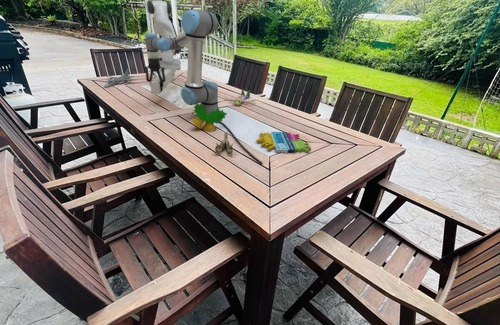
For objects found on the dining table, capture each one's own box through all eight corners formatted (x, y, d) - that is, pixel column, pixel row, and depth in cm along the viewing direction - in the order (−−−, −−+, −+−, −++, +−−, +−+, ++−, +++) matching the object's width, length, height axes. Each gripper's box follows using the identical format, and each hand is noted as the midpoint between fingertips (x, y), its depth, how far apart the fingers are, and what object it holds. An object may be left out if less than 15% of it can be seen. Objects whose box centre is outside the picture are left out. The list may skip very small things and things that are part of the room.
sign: (313, 150, 142) (258, 149, 139) (312, 153, 143) (258, 152, 140) (301, 132, 164) (254, 130, 161) (301, 134, 165) (254, 133, 162)
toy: (261, 91, 228) (254, 99, 202) (261, 99, 231) (253, 108, 205) (231, 87, 233) (220, 95, 207) (230, 95, 236) (219, 104, 210)
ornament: (218, 133, 171) (224, 110, 169) (221, 134, 163) (227, 111, 161) (186, 125, 162) (192, 101, 160) (189, 126, 155) (195, 101, 153)
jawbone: (234, 135, 144) (233, 125, 135) (233, 160, 138) (232, 151, 129) (217, 135, 144) (216, 125, 135) (216, 160, 138) (214, 150, 129)
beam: (159, 94, 189) (158, 82, 185) (151, 93, 189) (149, 82, 185) (174, 77, 240) (173, 67, 236) (168, 76, 240) (167, 67, 236)
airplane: (101, 79, 257) (98, 68, 252) (135, 77, 270) (133, 67, 265) (102, 89, 228) (99, 78, 223) (140, 87, 242) (138, 76, 237)
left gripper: (181, 58, 230) (182, 75, 237) (157, 57, 229) (159, 73, 236) (179, 59, 225) (180, 76, 232) (155, 58, 223) (157, 75, 230)
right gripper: (168, 57, 187) (171, 90, 198) (141, 56, 185) (145, 89, 197) (165, 59, 180) (169, 92, 192) (138, 58, 179) (143, 91, 190)
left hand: (169, 75), depth 234 cm, fingers closed on beam, 5 cm apart
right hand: (157, 91), depth 194 cm, fingers closed on beam, 6 cm apart
